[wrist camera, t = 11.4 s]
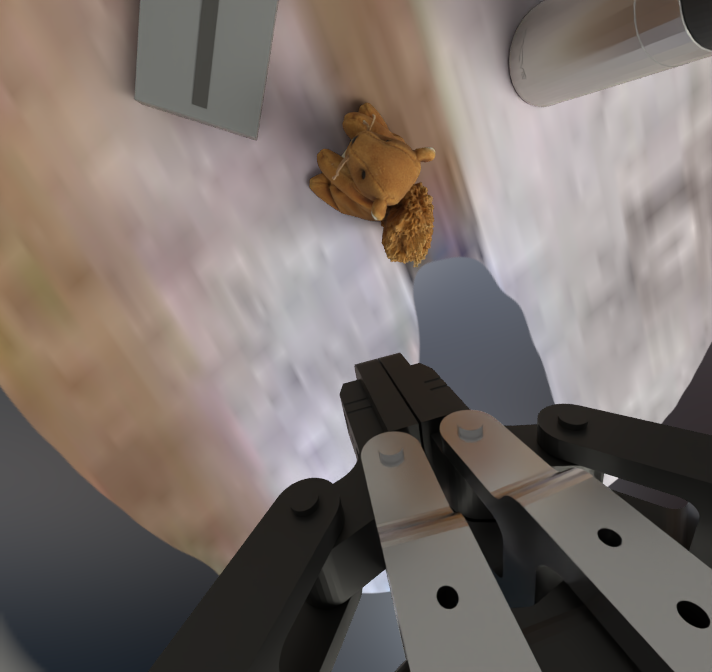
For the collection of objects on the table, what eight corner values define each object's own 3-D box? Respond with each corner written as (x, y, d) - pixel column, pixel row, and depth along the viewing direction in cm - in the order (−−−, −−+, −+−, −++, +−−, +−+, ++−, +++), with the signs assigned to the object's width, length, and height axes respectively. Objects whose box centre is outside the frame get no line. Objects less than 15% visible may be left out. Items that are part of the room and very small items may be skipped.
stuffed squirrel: (361, 95, 36) (409, 47, 24) (443, 203, 41) (514, 208, 29) (293, 171, 37) (305, 162, 25) (382, 266, 42) (427, 295, 31)
